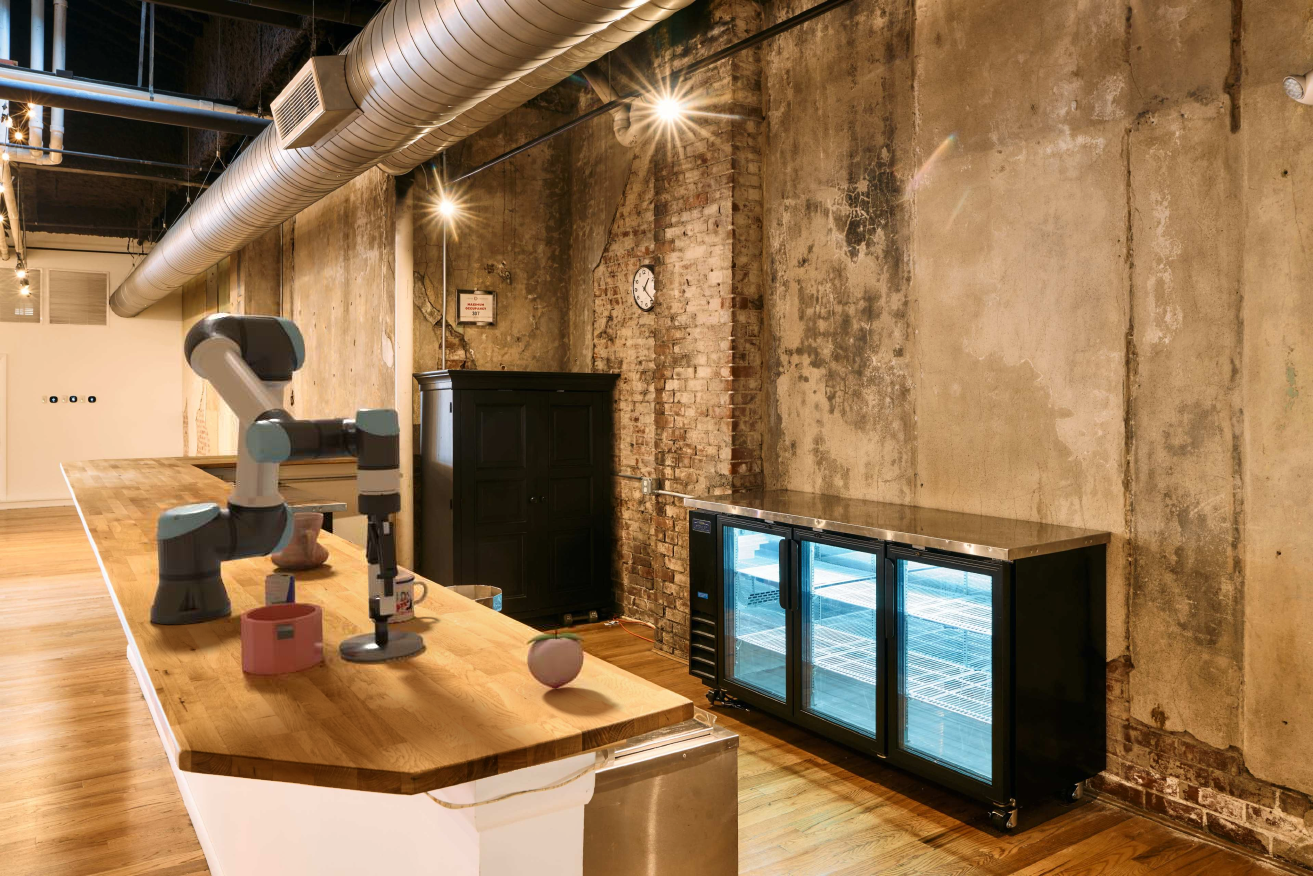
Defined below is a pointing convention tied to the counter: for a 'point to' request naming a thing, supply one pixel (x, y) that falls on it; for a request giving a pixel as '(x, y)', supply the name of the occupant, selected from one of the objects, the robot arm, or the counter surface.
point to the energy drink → (280, 588)
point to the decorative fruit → (555, 658)
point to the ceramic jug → (303, 544)
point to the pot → (281, 638)
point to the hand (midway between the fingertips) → (382, 605)
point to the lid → (380, 640)
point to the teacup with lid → (406, 596)
